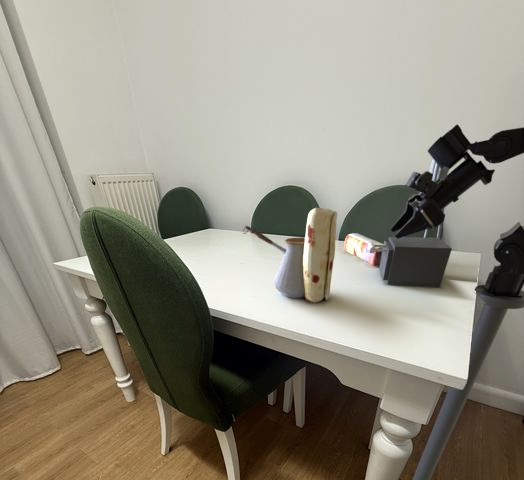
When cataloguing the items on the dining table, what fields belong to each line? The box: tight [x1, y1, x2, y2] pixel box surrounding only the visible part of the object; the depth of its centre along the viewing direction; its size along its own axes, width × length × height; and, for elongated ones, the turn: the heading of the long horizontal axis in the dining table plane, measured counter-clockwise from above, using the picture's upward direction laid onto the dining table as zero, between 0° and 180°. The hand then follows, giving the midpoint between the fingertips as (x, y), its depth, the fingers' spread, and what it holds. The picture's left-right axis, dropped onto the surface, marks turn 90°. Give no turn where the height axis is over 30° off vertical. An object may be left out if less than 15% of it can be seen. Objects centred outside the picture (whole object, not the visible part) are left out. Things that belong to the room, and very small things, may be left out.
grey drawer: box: [368, 240, 394, 281], centre depth 80 cm, size 16×12×8 cm
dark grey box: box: [385, 236, 453, 289], centre depth 79 cm, size 13×13×10 cm
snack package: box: [343, 232, 384, 268], centre depth 98 cm, size 21×7×7 cm, turn 12°
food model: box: [303, 207, 338, 303], centre depth 65 cm, size 10×7×20 cm
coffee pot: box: [242, 225, 305, 299], centre depth 73 cm, size 21×12×15 cm, turn 56°
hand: (393, 233), depth 77 cm, fingers open, 9 cm apart
